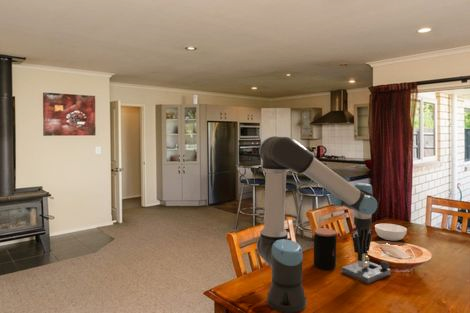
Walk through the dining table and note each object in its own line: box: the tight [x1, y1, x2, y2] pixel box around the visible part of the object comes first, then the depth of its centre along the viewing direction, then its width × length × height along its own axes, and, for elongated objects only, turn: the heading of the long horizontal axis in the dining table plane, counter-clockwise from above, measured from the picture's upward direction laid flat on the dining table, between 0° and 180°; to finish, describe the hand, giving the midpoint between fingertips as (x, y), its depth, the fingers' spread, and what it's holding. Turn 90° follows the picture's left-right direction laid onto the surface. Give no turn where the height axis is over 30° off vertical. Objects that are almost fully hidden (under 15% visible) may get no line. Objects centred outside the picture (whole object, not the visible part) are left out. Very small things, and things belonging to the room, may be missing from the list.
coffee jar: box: [313, 227, 338, 272], centre depth 161 cm, size 11×11×18 cm
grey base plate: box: [341, 260, 392, 285], centre depth 154 cm, size 17×14×2 cm
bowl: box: [374, 222, 408, 242], centre depth 205 cm, size 18×18×7 cm
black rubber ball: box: [379, 260, 390, 269], centre depth 153 cm, size 4×4×4 cm
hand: (361, 266), depth 152 cm, fingers closed
